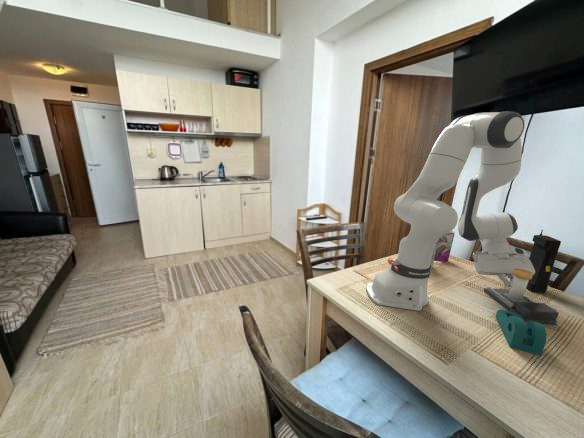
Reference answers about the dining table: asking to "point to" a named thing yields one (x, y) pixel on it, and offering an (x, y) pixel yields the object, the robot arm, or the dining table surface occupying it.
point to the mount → (525, 307)
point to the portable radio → (542, 261)
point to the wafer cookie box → (444, 247)
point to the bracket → (522, 332)
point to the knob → (518, 286)
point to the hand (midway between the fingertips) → (511, 286)
